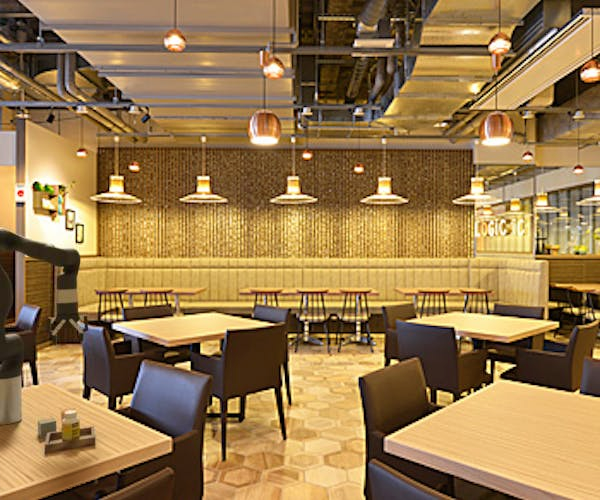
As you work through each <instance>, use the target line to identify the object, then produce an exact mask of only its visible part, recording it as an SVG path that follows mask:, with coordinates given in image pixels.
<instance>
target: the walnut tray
mask: <svg viewBox="0 0 600 500" xmlns="http://www.w3.org/2000/svg"><path fill="white" fill-rule="evenodd" d="M95 428H96V427H95V425H92V426H85V427H80V439H74V440H67V441H62V430H56V432H49V433H47V436H46V437H45V441H44V454H46V455H47V454H52V453H57V452H62V451H63V452H64V451H65V452H66V451H71V450H76V449H83V448H89V447H95V446H96V435H95V430H96V429H95Z"/></svg>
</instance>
